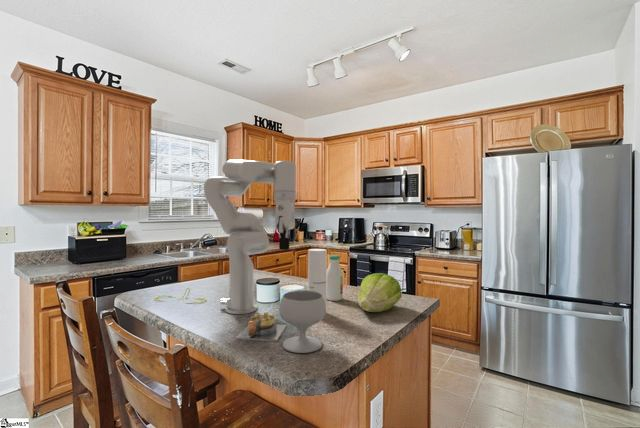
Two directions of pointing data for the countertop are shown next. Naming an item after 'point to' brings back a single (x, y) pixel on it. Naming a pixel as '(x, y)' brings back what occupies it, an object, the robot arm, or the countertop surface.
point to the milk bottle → (334, 280)
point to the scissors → (182, 297)
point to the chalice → (302, 318)
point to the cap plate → (262, 338)
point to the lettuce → (378, 292)
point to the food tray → (260, 323)
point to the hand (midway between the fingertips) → (284, 249)
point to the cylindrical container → (317, 271)
